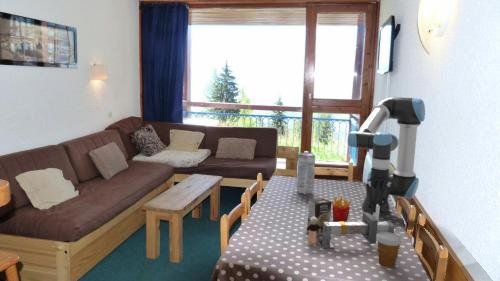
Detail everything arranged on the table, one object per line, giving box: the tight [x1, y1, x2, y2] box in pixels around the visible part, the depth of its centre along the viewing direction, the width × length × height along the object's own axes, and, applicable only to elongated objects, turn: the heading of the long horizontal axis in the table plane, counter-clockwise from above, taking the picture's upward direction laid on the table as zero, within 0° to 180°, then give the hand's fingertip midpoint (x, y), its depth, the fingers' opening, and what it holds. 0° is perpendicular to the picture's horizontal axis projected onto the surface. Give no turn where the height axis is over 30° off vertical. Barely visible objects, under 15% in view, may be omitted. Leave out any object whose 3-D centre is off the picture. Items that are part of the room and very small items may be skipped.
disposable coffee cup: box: [376, 232, 402, 269], centre depth 160 cm, size 10×10×12 cm
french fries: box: [330, 196, 352, 222], centre depth 200 cm, size 9×8×15 cm
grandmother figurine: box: [304, 217, 321, 246], centre depth 177 cm, size 8×4×13 cm, turn 119°
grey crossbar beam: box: [317, 220, 395, 250], centre depth 178 cm, size 34×8×10 cm, turn 97°
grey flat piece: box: [360, 211, 379, 245], centre depth 178 cm, size 2×10×10 cm, turn 7°
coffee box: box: [306, 198, 332, 237], centre depth 190 cm, size 9×6×16 cm
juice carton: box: [296, 150, 316, 195], centre depth 255 cm, size 9×10×27 cm
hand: (375, 219), depth 178 cm, fingers closed
